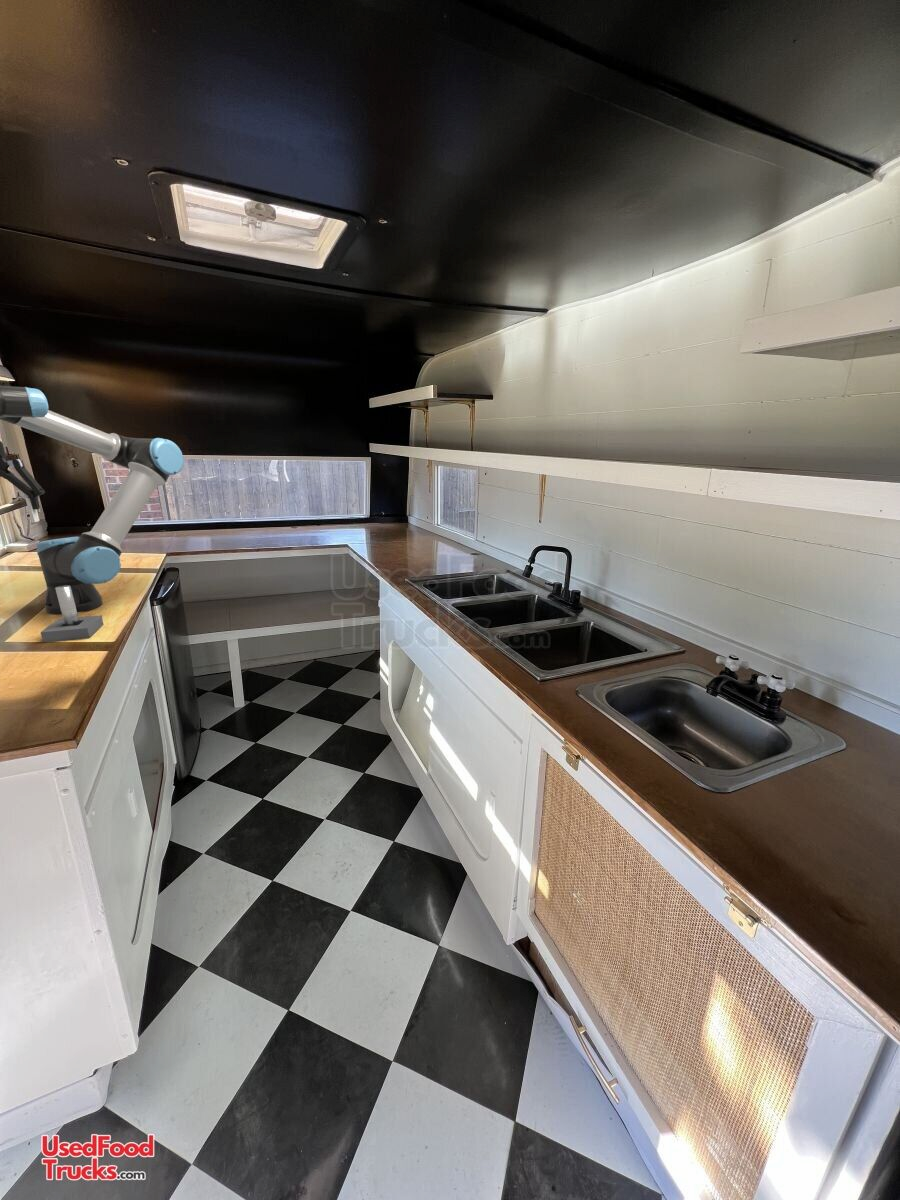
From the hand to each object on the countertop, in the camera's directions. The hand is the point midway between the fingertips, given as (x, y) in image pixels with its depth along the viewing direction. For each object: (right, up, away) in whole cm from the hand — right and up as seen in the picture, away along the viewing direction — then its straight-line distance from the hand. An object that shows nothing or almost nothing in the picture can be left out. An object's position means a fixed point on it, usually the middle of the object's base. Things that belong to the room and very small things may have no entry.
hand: (5, 522), depth 130 cm
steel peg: (+11, -30, +9) cm, 34 cm away
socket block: (+11, -30, +9) cm, 34 cm away
